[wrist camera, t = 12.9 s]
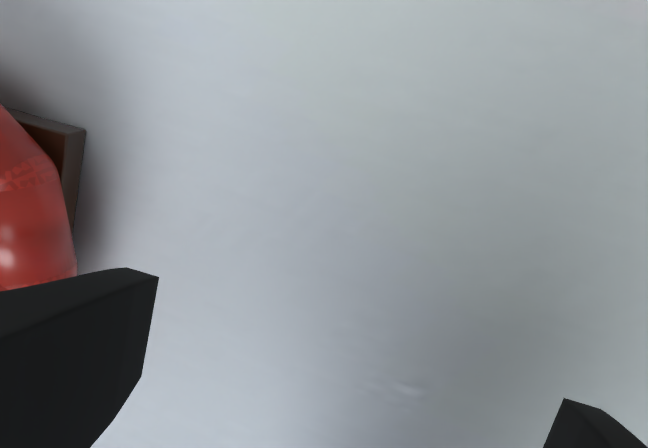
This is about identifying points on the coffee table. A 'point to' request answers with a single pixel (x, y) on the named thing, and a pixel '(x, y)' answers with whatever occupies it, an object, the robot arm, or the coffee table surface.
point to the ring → (31, 213)
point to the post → (58, 152)
